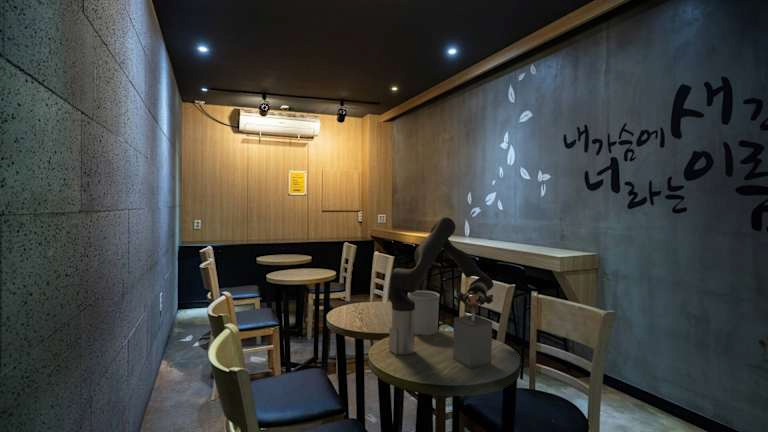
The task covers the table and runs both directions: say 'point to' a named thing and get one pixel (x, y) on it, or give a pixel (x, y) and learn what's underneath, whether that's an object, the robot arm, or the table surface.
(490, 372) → the table surface
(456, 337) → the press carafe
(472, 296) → the plunger
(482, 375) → the table surface
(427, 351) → the table surface
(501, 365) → the table surface
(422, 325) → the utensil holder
